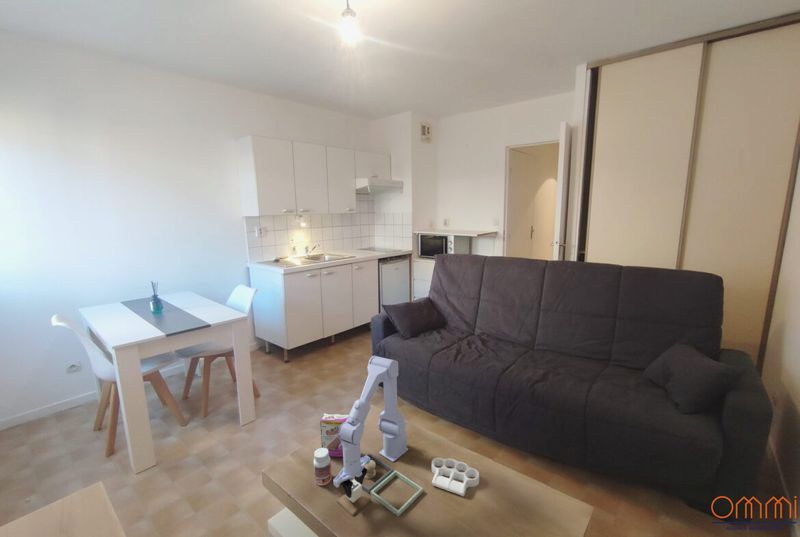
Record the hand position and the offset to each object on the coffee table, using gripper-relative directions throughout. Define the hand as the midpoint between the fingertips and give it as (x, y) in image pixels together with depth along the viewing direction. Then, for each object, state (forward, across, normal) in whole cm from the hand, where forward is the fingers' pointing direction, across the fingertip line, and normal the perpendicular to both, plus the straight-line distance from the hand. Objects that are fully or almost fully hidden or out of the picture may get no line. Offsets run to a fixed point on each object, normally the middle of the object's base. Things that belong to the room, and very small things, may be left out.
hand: (353, 492), depth 119 cm
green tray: (+4, +12, -9) cm, 15 cm away
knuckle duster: (+4, +31, -20) cm, 37 cm away
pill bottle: (+4, -1, +16) cm, 16 cm away
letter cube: (+2, 0, 0) cm, 2 cm away
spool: (+4, +12, +5) cm, 14 cm away
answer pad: (+4, 0, 0) cm, 4 cm away
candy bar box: (+4, +11, +23) cm, 26 cm away
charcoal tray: (+4, +12, +5) cm, 14 cm away
